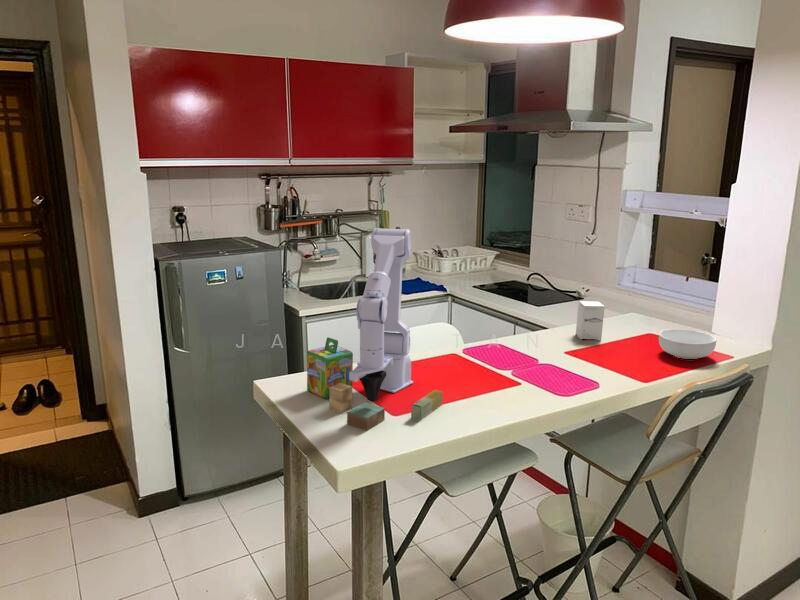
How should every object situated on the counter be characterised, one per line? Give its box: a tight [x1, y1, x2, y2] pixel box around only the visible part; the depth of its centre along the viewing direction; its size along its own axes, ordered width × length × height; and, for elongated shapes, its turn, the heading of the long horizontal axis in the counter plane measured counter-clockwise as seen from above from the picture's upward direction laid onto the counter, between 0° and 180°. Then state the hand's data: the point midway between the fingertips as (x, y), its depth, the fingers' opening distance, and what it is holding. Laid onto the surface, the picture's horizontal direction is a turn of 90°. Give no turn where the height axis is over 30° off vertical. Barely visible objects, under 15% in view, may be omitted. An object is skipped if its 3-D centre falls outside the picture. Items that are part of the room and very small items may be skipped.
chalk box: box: [306, 336, 354, 401], centre depth 162 cm, size 9×9×15 cm
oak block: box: [329, 383, 353, 414], centre depth 152 cm, size 4×4×6 cm
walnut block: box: [346, 402, 386, 432], centre depth 145 cm, size 4×6×7 cm
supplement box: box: [575, 300, 606, 341], centre depth 213 cm, size 7×7×13 cm
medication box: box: [410, 389, 444, 422], centre depth 151 cm, size 12×3×4 cm, turn 149°
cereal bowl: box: [658, 328, 717, 359], centre depth 194 cm, size 17×17×7 cm
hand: (372, 400), depth 146 cm, fingers closed
